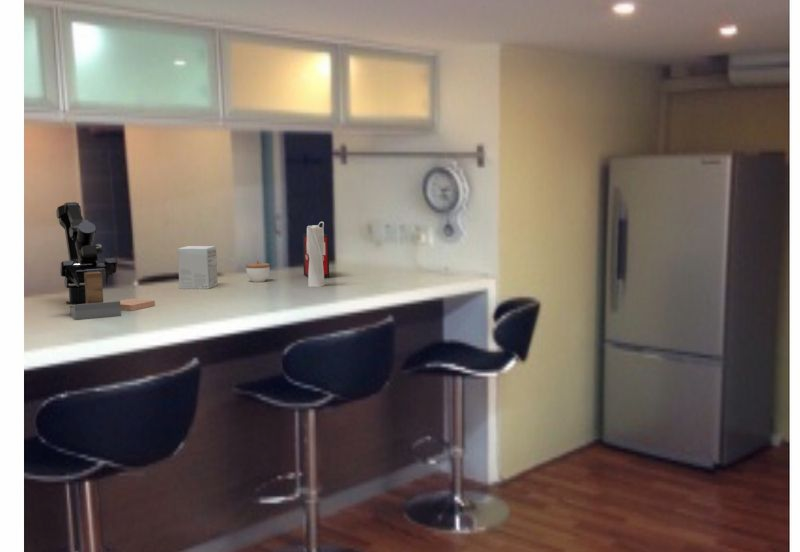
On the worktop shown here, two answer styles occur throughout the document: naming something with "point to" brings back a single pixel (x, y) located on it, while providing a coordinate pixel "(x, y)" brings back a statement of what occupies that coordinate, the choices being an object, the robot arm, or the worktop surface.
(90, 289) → the walnut block
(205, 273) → the supplement box
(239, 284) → the worktop surface
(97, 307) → the slate shelf ledge
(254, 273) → the lidded jar
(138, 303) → the terracotta tile stand
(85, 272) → the robot arm
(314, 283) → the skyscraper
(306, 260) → the cleaning product box
